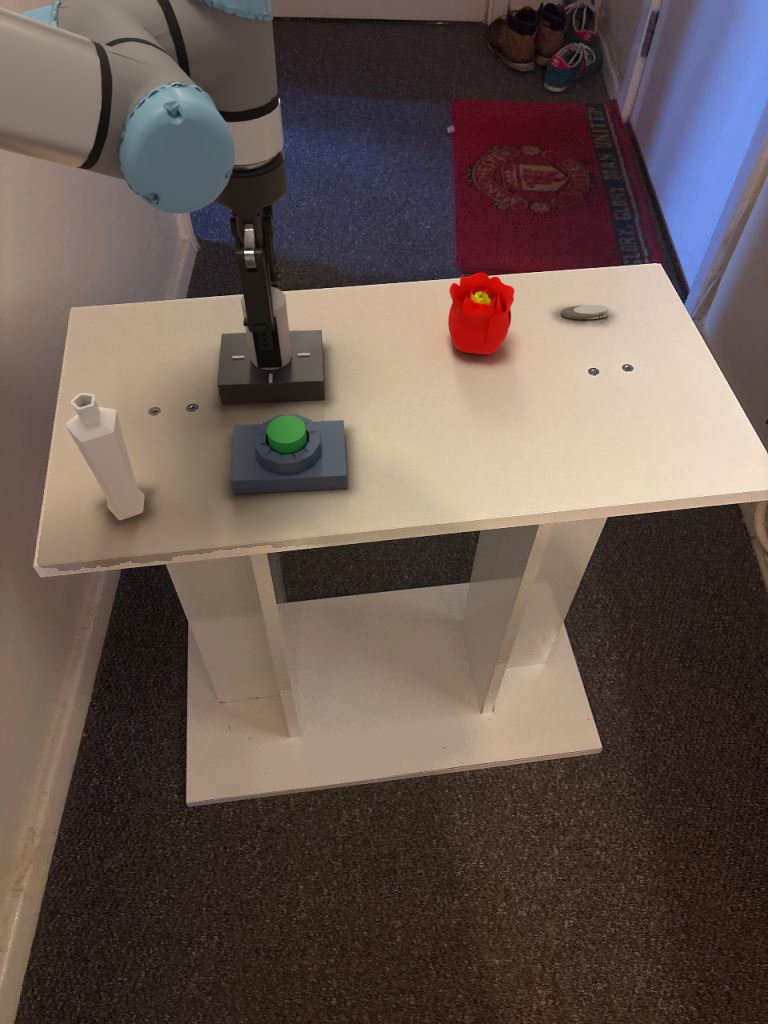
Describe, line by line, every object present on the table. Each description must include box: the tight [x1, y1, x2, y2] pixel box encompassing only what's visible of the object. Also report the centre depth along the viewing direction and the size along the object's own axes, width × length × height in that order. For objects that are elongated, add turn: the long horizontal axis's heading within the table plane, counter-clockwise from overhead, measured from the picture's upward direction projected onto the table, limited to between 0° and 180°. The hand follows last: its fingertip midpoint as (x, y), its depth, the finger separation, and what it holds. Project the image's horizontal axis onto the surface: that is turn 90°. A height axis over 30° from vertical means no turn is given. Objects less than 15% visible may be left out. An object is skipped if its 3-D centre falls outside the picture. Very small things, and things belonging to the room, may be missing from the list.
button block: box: [230, 413, 348, 495], centre depth 80 cm, size 12×8×4 cm, turn 94°
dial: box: [240, 287, 292, 370], centre depth 85 cm, size 5×5×8 cm
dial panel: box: [217, 329, 326, 405], centre depth 89 cm, size 12×9×3 cm
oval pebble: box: [560, 304, 610, 320], centre depth 98 cm, size 6×2×1 cm, turn 87°
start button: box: [267, 414, 307, 454], centre depth 78 cm, size 4×4×2 cm
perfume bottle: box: [65, 392, 146, 521], centre depth 72 cm, size 5×4×15 cm
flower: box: [447, 272, 515, 355], centre depth 91 cm, size 8×8×8 cm
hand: (270, 348), depth 87 cm, fingers open, 5 cm apart
